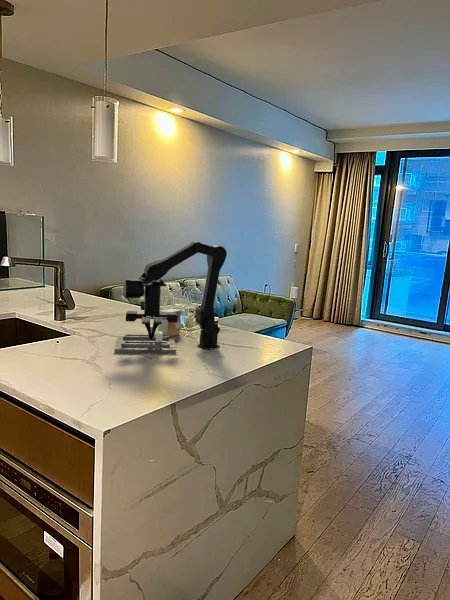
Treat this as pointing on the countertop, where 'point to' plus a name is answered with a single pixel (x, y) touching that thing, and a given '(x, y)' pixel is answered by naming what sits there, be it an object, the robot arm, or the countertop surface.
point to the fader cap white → (158, 337)
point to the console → (144, 344)
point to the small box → (170, 324)
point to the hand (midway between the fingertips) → (151, 339)
